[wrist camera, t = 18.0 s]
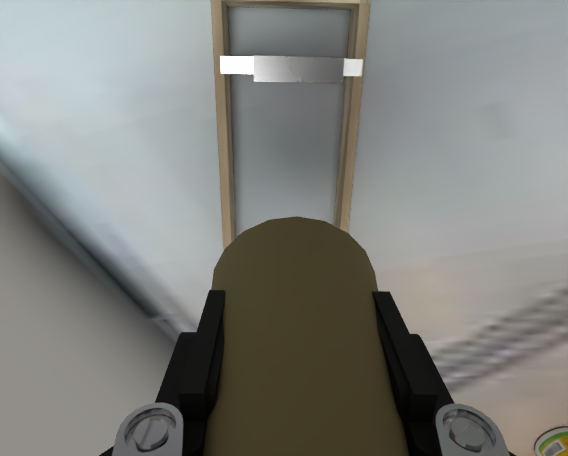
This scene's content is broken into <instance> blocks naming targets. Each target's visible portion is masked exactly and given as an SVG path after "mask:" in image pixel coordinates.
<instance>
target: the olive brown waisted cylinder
mask: <svg viewBox="0 0 568 456" xmlns="http://www.w3.org/2000/svg"><path fill="white" fill-rule="evenodd" d="M212 290H225V292H226V295H225V301H224V307H223V326H224V340H225V342H224V348H223V355H222V362H221V368H220V375H219V383H218V390H217V398H216V405H215V407H214V408H213V410H212V411H211V413H210V415H209V416H208V418H207V422H206V429H205V436H204V445H203V456H409V450H408V445H407V440H406V435H405V429H404V424H403V421H402V419H401V417H400V415H399V413H398V410H397V406H396V402H395V398H394V393H393V389H392V385H391V380H390V376H389V372H388V368H387V363H386V359H385V355H384V351H383V347H382V343H381V339H380V336H379V332H378V328H377V318H376V308H375V301H374V297H373V294H372V291H378V288H377V283H376V277H375V272H374V270H373V267H372V265H371V263H370V260H369V258H368V256H367V254H366V251H365V250H364V249H363V248H362V247H361V246H360V245H359V244H358V243H357V242H356V241H355V240H354V239H353V238H352V237H351V236H350V235H349V234H348V233H347V232H345V231H343V230H341V229H339V228H337V227H335V226H333V225H331V224H329V223H327V222H325V221H321V220H315V219H309V218H303V217H289V218H281V219H273V220H268V221H266V222H264V223H261V224H259V225H257V226H255V227H252V228H250V229H248V230H246V231H244V232H243V233H242V234H241V235H239V236H238V237H237V238H236V239H235V240H234V241H233V242H232V243H231V244H229V245H228V246H227V247H226V248H225V250H224V252H223V253H222V255H221V257H220V259H219V261H218V263H217V265H216V267H215V268H214V274H213V282H212Z"/></svg>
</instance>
